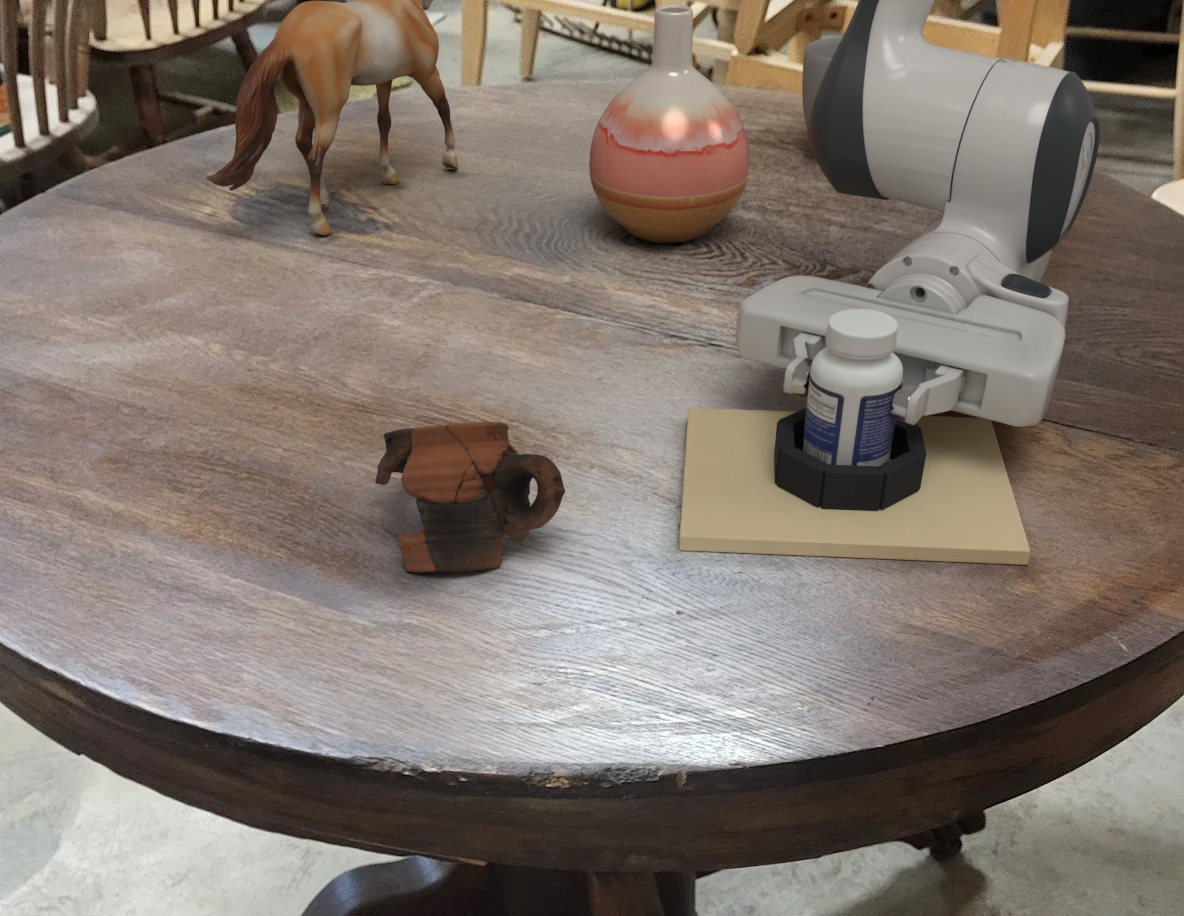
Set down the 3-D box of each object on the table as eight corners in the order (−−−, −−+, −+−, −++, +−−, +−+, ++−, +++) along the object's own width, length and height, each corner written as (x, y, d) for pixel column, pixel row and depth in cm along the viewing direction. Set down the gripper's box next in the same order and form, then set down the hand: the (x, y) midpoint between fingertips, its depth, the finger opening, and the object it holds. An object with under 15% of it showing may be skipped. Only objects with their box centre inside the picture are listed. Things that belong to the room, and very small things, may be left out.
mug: (803, 136, 134) (813, 34, 128) (889, 143, 132) (903, 40, 126) (781, 173, 126) (790, 65, 120) (872, 181, 124) (886, 72, 118)
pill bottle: (887, 454, 82) (910, 305, 76) (886, 497, 78) (911, 345, 72) (801, 447, 83) (817, 300, 77) (796, 490, 79) (813, 338, 73)
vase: (775, 240, 113) (795, 14, 101) (642, 272, 107) (647, 38, 96) (688, 194, 122) (696, -18, 110) (561, 221, 116) (556, 2, 105)
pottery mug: (353, 579, 75) (336, 433, 73) (435, 565, 83) (421, 434, 82) (541, 568, 70) (527, 412, 68) (608, 554, 78) (596, 415, 77)
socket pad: (987, 431, 86) (998, 382, 84) (1027, 565, 74) (1040, 513, 72) (687, 420, 88) (690, 372, 86) (679, 550, 76) (681, 498, 73)
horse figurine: (436, 149, 132) (417, -86, 119) (498, 161, 129) (485, -78, 116) (216, 246, 113) (163, -22, 99) (283, 264, 109) (237, -11, 96)
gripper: (790, 236, 87) (694, 308, 78) (1095, 299, 79) (1028, 387, 70) (781, 326, 92) (689, 404, 83) (1071, 394, 83) (1004, 488, 74)
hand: (848, 397), depth 76 cm, fingers closed on pill bottle, 5 cm apart
